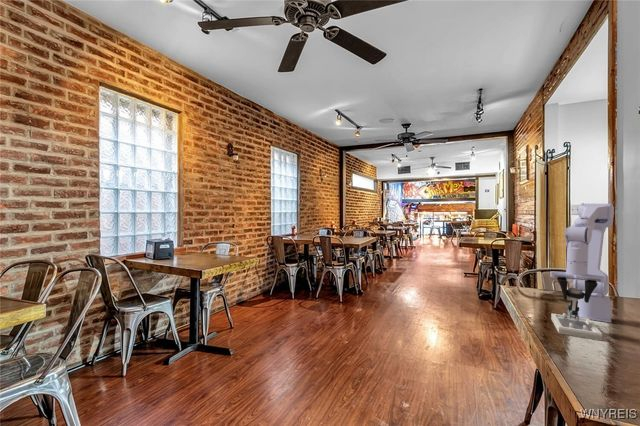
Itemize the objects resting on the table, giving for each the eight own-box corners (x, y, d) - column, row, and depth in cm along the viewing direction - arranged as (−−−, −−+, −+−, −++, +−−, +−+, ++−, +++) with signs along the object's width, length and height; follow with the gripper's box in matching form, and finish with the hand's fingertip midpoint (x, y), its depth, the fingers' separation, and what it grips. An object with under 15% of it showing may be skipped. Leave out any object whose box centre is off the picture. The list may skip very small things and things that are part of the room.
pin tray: (588, 324, 116) (589, 315, 116) (601, 340, 102) (602, 330, 102) (551, 319, 121) (551, 310, 121) (558, 333, 107) (559, 323, 107)
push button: (582, 323, 109) (585, 294, 107) (562, 318, 112) (565, 290, 111) (582, 316, 114) (585, 288, 113) (563, 312, 117) (566, 285, 116)
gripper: (553, 260, 111) (551, 300, 111) (608, 265, 104) (606, 307, 104) (550, 258, 117) (548, 295, 118) (601, 262, 110) (600, 301, 111)
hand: (575, 300), depth 111 cm, fingers closed on push button, 5 cm apart
